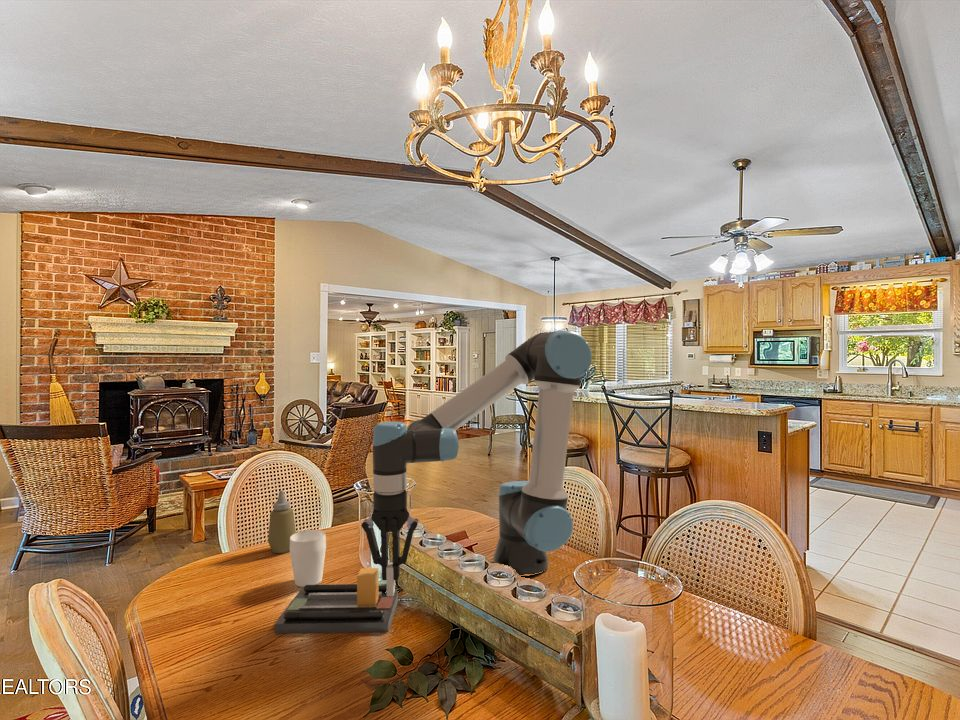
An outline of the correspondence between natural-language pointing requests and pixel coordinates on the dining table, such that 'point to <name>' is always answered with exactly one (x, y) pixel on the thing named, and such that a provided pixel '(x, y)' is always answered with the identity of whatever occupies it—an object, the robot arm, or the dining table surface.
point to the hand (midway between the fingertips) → (390, 593)
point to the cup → (308, 556)
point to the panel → (336, 623)
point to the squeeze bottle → (281, 525)
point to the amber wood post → (367, 586)
